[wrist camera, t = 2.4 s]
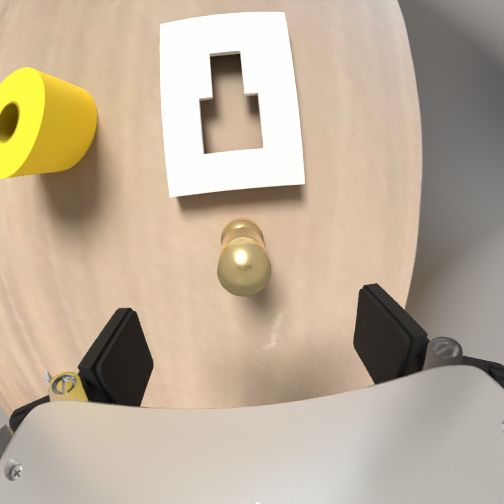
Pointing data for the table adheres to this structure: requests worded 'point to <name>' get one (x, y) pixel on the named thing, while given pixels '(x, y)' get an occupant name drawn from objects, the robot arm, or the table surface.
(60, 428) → the robot arm
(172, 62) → the keyhole plate
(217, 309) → the table surface
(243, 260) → the brass peg
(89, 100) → the yellow toilet paper roll
